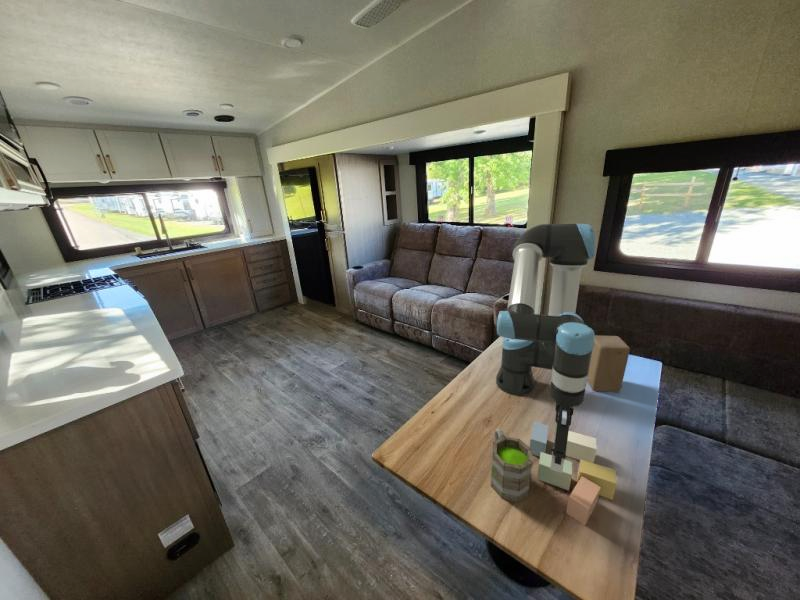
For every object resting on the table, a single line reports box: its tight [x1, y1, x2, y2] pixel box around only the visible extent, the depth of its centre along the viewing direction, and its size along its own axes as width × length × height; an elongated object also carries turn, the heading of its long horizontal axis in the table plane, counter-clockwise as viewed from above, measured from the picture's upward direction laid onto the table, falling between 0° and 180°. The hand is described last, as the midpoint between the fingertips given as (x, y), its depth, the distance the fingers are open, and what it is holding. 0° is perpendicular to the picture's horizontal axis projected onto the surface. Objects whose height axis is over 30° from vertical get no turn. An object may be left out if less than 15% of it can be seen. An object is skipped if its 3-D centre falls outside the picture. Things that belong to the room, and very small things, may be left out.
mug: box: [490, 428, 534, 503], centre depth 86 cm, size 16×11×12 cm
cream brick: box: [566, 430, 598, 464], centre depth 92 cm, size 8×4×6 cm, turn 61°
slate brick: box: [529, 421, 549, 458], centre depth 96 cm, size 8×4×6 cm, turn 151°
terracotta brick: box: [565, 476, 601, 526], centre depth 77 cm, size 8×4×6 cm, turn 131°
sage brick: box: [536, 452, 573, 491], centre depth 85 cm, size 8×4×6 cm, turn 61°
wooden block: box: [586, 334, 631, 393], centre depth 119 cm, size 10×10×20 cm
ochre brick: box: [577, 459, 618, 501], centre depth 82 cm, size 8×4×6 cm, turn 61°
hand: (557, 450), depth 82 cm, fingers open, 13 cm apart
